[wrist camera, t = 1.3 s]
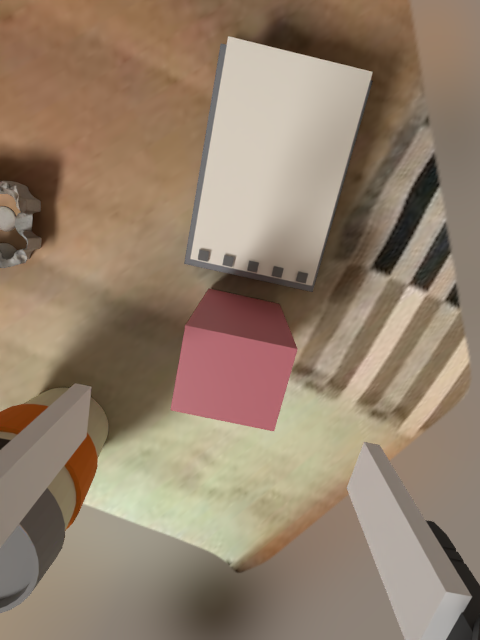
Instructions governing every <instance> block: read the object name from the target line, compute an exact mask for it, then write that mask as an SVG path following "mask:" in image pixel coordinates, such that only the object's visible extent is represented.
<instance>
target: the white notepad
mask: <svg viewBox="0 0 480 640" xmlns="http://www.w3.org/2000/svg"><path fill="white" fill-rule="evenodd" d="M372 73H373V72H371V71H367V70H363V69H359V68H355V67H351V66H347V65H343V64H339V63H335V62H331V61H327V60H322V59H318V58H314V57H310V56H306V55H302V54H298V53H294V52H290V51H286V50H282V49H278V48H274V47H270V46H266V45H262V44H258V43H254V42H249V41H245V40H241V39H237V38H233V37H229V36H228V41H227V45H225V44H221V46H220V52H219V58H218V64H217V70H216V76H215V82H214V88H213V94H212V100H211V106H210V112H209V118H208V124H207V130H206V136H205V142H204V148H203V154H202V160H201V166H200V172H199V178H198V184H197V190H196V196H195V202H194V208H193V214H192V220H191V226H190V232H189V238H188V244H187V250H186V256H185V262H184V264H188V265H192V266H197V267H202V268H206V269H211V270H215V271H220V272H224V273H229V274H233V275H238V276H242V277H247V278H251V279H256V280H261V281H265V282H270V283H274V284H279V285H283V286H288V287H292V288H297V289H301V290H306V291H311V292H313V288H314V285H315V281H316V278H317V274H318V271H319V267H320V264H321V260H322V257H323V253H324V250H325V246H326V243H327V239H328V236H329V232H330V229H331V225H332V222H333V218H334V215H335V211H336V208H337V204H338V201H339V197H340V194H341V190H342V187H343V183H344V180H345V176H346V173H347V169H348V166H349V162H350V159H351V155H352V152H353V148H354V145H355V141H356V138H357V134H358V131H359V127H360V124H361V120H362V117H363V113H364V110H365V106H366V103H367V99H368V96H369V92H370V89H371V85H372V82H373V81H372V80H371V76H372Z"/></svg>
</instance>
